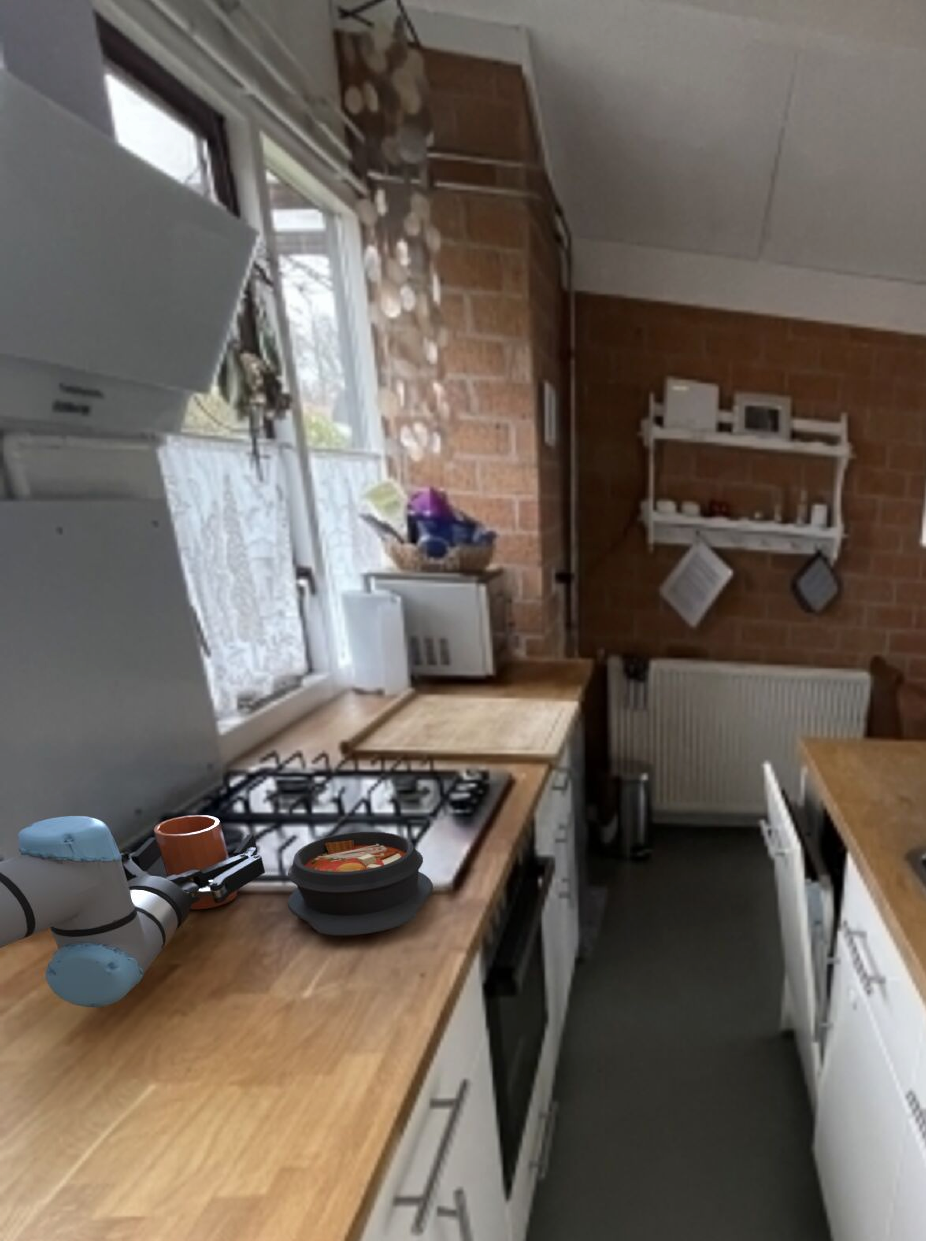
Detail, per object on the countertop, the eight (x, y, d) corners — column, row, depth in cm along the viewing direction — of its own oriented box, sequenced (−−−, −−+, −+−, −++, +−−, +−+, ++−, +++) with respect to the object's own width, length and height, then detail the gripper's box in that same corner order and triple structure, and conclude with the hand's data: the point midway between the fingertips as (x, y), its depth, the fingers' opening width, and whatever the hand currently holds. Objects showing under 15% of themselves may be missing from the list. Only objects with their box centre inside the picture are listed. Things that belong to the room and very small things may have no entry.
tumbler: (169, 895, 122) (148, 822, 117) (229, 881, 127) (210, 811, 122) (183, 914, 118) (161, 839, 113) (244, 900, 122) (225, 827, 117)
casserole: (290, 879, 129) (278, 826, 125) (424, 862, 137) (416, 812, 133) (290, 958, 109) (276, 899, 106) (446, 934, 117) (438, 877, 113)
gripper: (37, 949, 103) (115, 872, 121) (260, 937, 108) (302, 865, 127) (15, 893, 99) (99, 822, 118) (247, 883, 105) (292, 817, 124)
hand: (204, 844), depth 123 cm, fingers open, 11 cm apart
